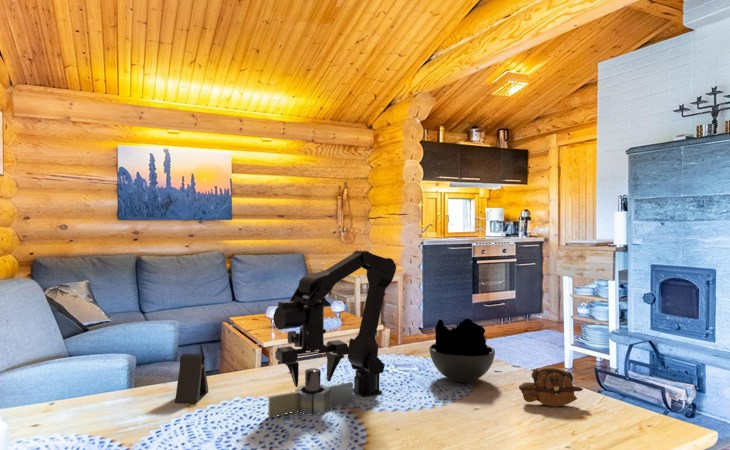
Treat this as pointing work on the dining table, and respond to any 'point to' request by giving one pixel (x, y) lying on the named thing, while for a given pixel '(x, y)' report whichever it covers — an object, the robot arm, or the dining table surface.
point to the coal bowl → (461, 351)
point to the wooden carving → (550, 387)
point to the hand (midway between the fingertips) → (312, 383)
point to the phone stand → (191, 379)
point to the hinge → (310, 400)
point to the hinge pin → (312, 380)
